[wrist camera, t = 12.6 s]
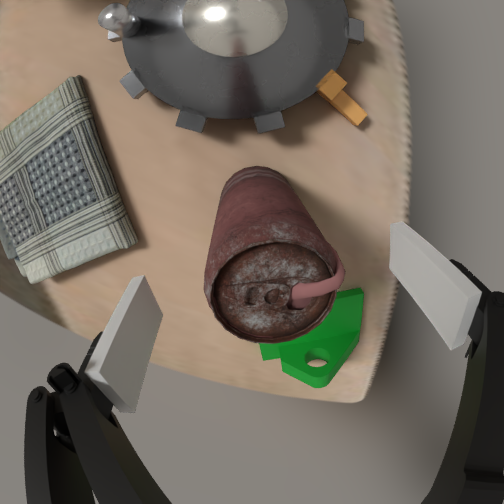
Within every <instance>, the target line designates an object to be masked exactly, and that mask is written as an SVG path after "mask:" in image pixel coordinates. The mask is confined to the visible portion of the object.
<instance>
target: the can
mask: <svg viewBox="0 0 504 504" xmlns="http://www.w3.org/2000/svg"><path fill="white" fill-rule="evenodd" d="M344 276H345V269H344V267H343V265H342V263H341V260H340V258H339V256H338V254H337V252H336V251H335V250H334V248H333V247H332V246H331V245H330V244H329V243H328V242H327V241H326V240H325V238H324V237H323V235H322V234H321V232H320V230H319V229H318V227H317V226H316V224H315V223H314V221H313V219H312V218H311V216H310V215H309V213H308V212H307V210H306V209H305V207H304V205H303V204H302V202H301V201H300V199H299V198H298V196H297V195H296V193H295V192H294V190H293V189H292V187H291V186H290V184H289V183H288V181H287V180H286V179H285V178H284V177H283V176H282V175H281V174H280V173H279V172H277V171H275V170H272V169H270V168H268V167H261V166H253V167H248V168H244V169H242V170H240V171H238V172H236V173H235V174H234V175H233V176H232V177H231V178H230V179H229V180H228V181H227V182H226V184H225V186H224V188H223V190H222V193H221V197H220V202H219V206H218V211H217V215H216V220H215V224H214V229H213V234H212V238H211V243H210V248H209V253H208V258H207V263H206V268H205V275H204V292H205V295H206V298H207V301H208V304H209V307H210V308H211V309H212V311H213V313H214V316H215V318H216V319H217V320H218V321H219V322H220V324H221V325H222V326H223V327H224V328H225V329H226V330H227V331H229V332H230V333H232V334H233V335H235V336H237V337H238V338H240V339H244V340H247V341H250V342H254V343H264V344H276V343H282V342H288V341H292V340H294V339H297V338H299V337H301V336H304V335H306V334H308V333H309V332H311V331H312V330H313V329H315V328H316V327H317V326H319V325H320V324H321V323H322V322H323V321H324V319H325V318H326V317H327V315H328V314H329V313H330V312H331V310H332V307H333V304H334V302H335V299H336V296H337V289H339V287H340V286H341V284H342V283H343V281H344Z"/></svg>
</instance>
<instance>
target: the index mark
mask: <svg viewBox="0 0 504 504" xmlns="http://www.w3.org/2000/svg"><path fill="white" fill-rule="evenodd" d="M328 102H329V103H330V104H332V105H333V106H334V107H335V108H336V109H337V110H338V111H339V112H340V113H341V114H342V115H343V116H344V117H346V118H347V119H348V120H349V121H350V122H351V123H352V124H353V125H356V126H358V125H359V124H360V123H361V121H362V120H363V119H364V118H365V117H366V116H367V115H368V114H367V113H366V112H365V111H364V110H363V109H362V108H361V107H360V106H359V105H358V104H357V103H356V102H355V101H354V100H353V99H352V98H351V97H350V96H348V95H347V94H346V93H345V92H344V91H343V90H341V91H340V92H339V93H338V94H337V95H336V96H335V97H334V98H333V100H332V101H328Z"/></svg>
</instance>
